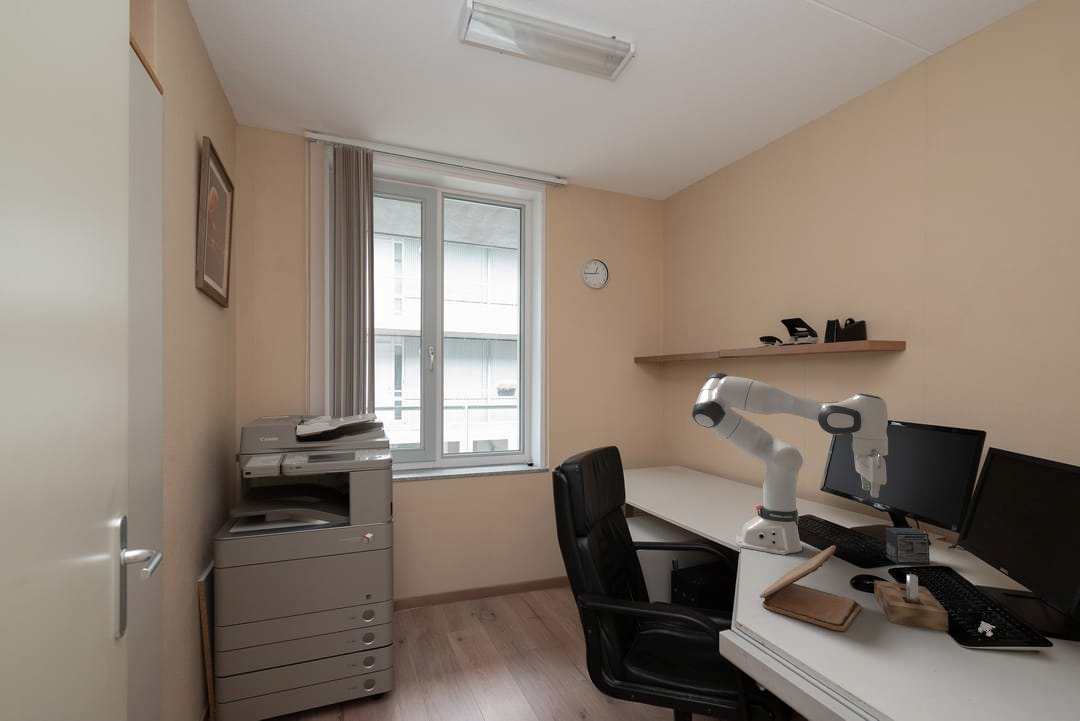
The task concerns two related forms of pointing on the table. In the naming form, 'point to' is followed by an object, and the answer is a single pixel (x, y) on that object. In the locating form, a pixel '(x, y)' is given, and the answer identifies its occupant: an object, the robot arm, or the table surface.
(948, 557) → the table surface
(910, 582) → the gauge pin
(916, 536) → the small box
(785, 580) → the case
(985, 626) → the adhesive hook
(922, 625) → the wooden flat block
